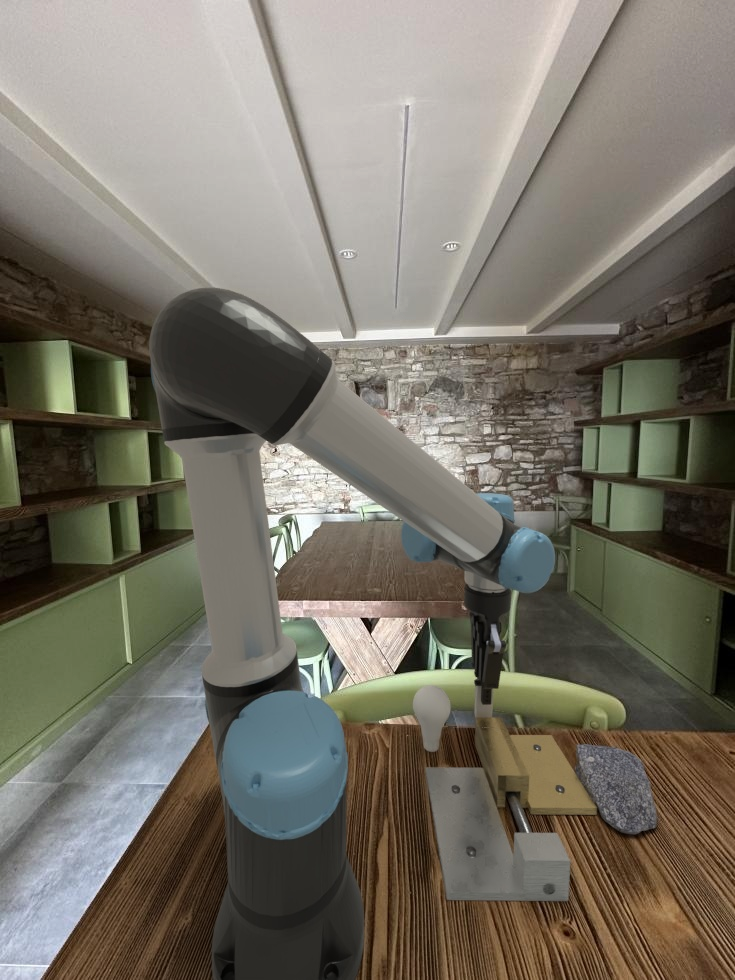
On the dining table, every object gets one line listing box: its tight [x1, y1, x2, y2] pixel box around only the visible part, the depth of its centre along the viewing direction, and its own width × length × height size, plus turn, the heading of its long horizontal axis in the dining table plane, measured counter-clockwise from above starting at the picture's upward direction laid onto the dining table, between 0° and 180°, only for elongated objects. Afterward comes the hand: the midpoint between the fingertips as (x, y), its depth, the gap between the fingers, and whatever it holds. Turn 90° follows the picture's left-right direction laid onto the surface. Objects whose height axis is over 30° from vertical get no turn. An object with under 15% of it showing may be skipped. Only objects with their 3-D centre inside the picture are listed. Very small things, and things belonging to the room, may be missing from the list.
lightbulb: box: [412, 684, 451, 753], centre depth 66 cm, size 6×6×11 cm
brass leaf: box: [474, 716, 598, 816], centre depth 62 cm, size 13×14×5 cm
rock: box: [574, 743, 658, 835], centre depth 57 cm, size 12×5×10 cm
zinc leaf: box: [425, 766, 571, 902], centre depth 56 cm, size 14×24×5 cm, turn 0°
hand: (483, 716), depth 70 cm, fingers closed
